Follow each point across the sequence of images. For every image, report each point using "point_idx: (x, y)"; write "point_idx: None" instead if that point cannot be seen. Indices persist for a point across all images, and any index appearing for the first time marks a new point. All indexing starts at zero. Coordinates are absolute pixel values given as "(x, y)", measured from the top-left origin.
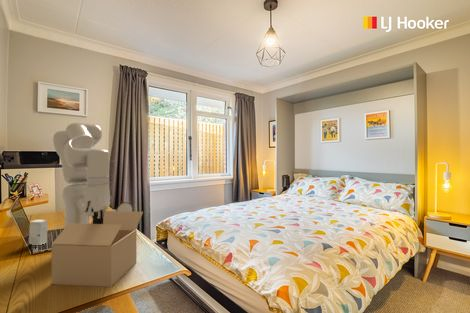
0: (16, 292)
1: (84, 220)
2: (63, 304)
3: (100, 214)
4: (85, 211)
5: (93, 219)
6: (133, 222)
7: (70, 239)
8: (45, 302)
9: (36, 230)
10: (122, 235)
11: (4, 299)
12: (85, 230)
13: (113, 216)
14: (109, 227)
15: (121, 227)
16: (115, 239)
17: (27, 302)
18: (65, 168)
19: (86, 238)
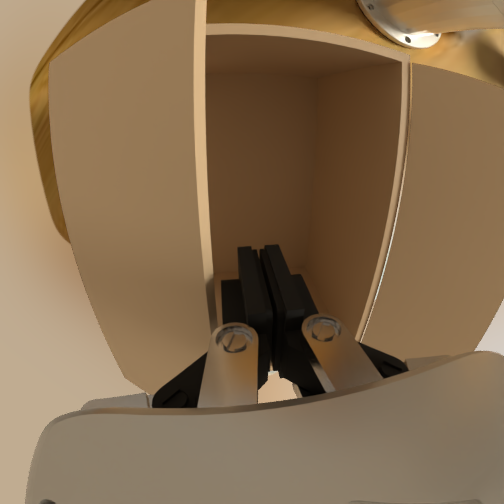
0: (86, 25)
1: (491, 11)
2: (62, 211)
3: (306, 384)
4: (80, 423)
5: (247, 309)
6: (401, 350)
7: (69, 168)
8: None
9: None
10: (352, 284)
11: (57, 35)
12: (136, 250)
13: (488, 235)
14: None
15: (387, 295)
16: (350, 237)
17: (48, 108)
18: None
19: (101, 280)
